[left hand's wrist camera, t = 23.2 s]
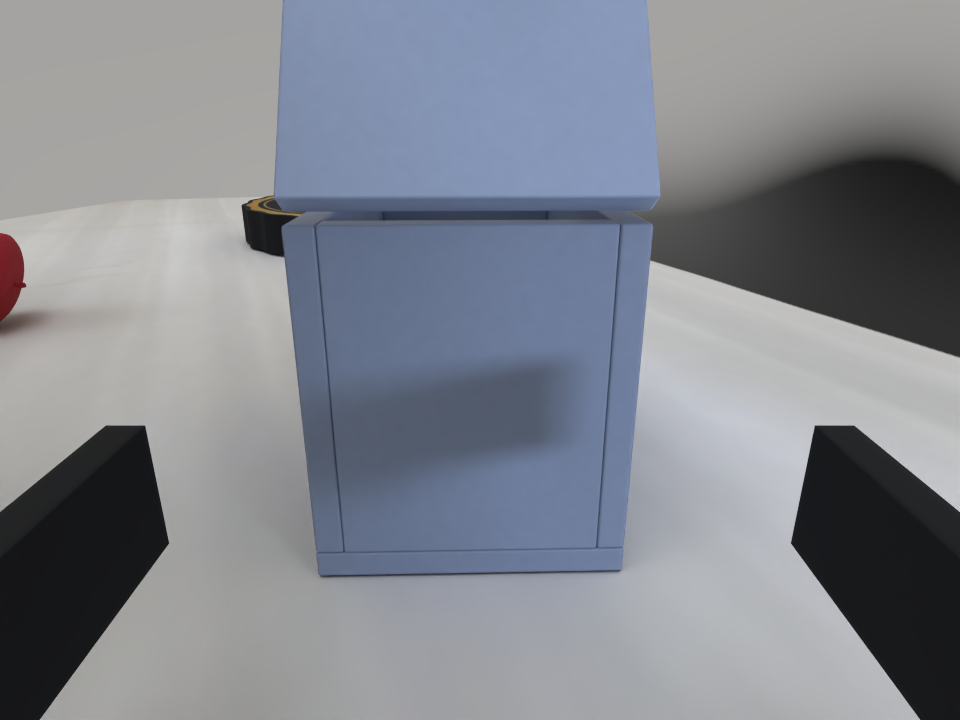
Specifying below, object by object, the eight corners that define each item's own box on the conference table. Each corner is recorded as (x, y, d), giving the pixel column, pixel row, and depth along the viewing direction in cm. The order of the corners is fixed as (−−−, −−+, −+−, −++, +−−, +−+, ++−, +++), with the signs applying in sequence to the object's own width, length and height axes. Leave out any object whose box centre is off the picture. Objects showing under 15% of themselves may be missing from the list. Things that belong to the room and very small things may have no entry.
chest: (377, 387, 35) (364, 176, 31) (556, 385, 35) (565, 176, 31) (318, 576, 20) (280, 225, 16) (621, 571, 20) (654, 223, 17)
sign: (246, 192, 87) (459, 185, 95) (250, 222, 89) (459, 214, 97) (234, 223, 61) (531, 211, 69) (240, 266, 62) (530, 249, 70)
